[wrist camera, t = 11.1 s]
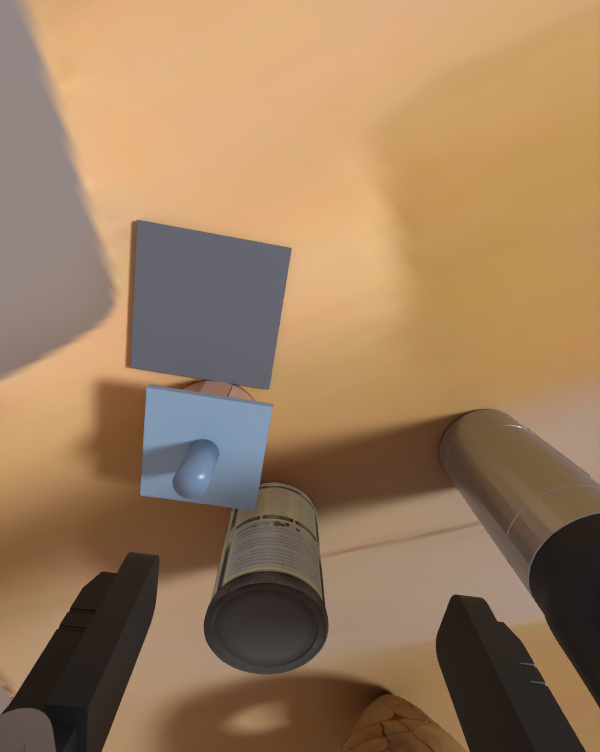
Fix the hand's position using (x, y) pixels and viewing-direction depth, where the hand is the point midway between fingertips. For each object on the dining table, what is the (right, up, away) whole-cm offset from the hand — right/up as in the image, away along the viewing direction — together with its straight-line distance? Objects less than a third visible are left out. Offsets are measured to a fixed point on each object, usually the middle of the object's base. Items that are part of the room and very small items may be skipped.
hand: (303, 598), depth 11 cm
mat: (-9, +13, +27) cm, 31 cm away
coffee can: (-3, -11, +35) cm, 37 cm away
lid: (-9, -1, +26) cm, 27 cm away
